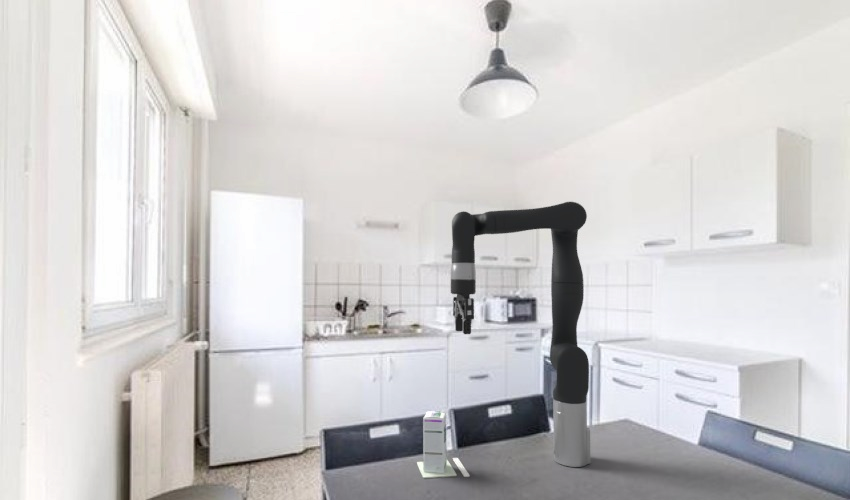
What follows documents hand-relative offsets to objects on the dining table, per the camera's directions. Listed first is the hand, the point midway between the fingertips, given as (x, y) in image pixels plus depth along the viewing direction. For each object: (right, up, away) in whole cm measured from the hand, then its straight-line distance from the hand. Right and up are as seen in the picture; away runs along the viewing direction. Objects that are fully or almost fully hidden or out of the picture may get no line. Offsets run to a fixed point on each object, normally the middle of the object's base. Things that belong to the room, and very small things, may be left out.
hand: (462, 332), depth 131 cm
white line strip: (-1, -35, -10) cm, 37 cm away
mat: (-8, -35, -11) cm, 38 cm away
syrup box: (-9, -35, -12) cm, 38 cm away
